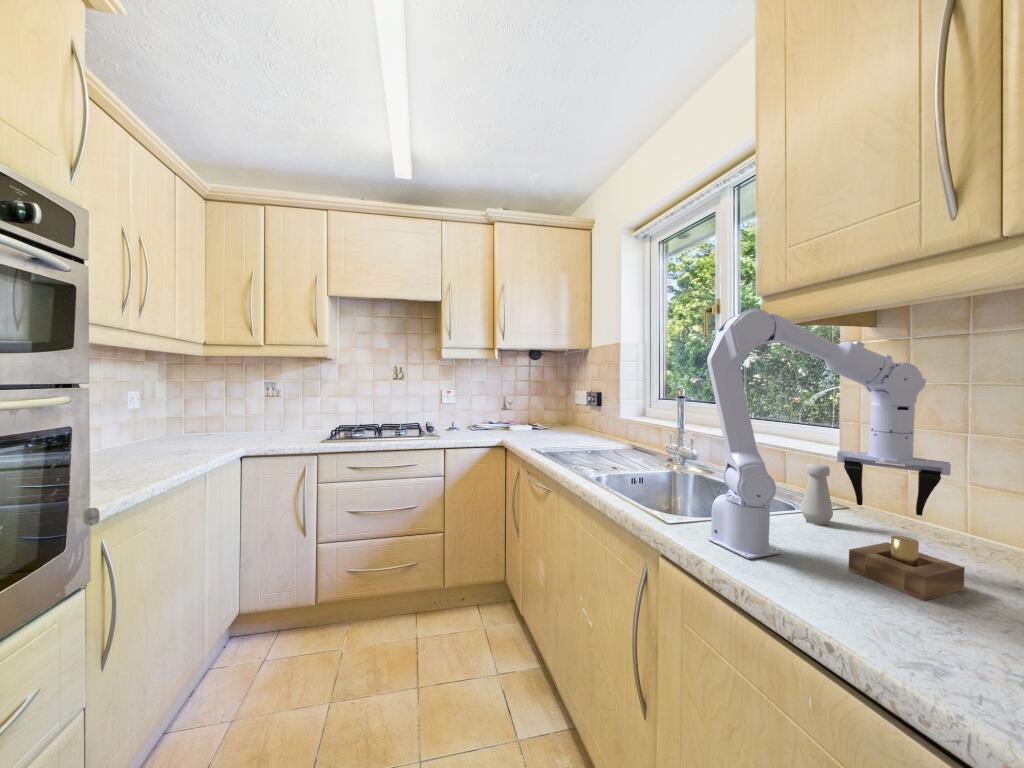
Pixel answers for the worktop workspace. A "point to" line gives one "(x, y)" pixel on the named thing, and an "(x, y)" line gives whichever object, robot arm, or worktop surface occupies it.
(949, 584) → the hole block
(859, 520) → the worktop surface
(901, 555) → the bronze pin
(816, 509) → the salt shaker
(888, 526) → the worktop surface
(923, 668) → the worktop surface
